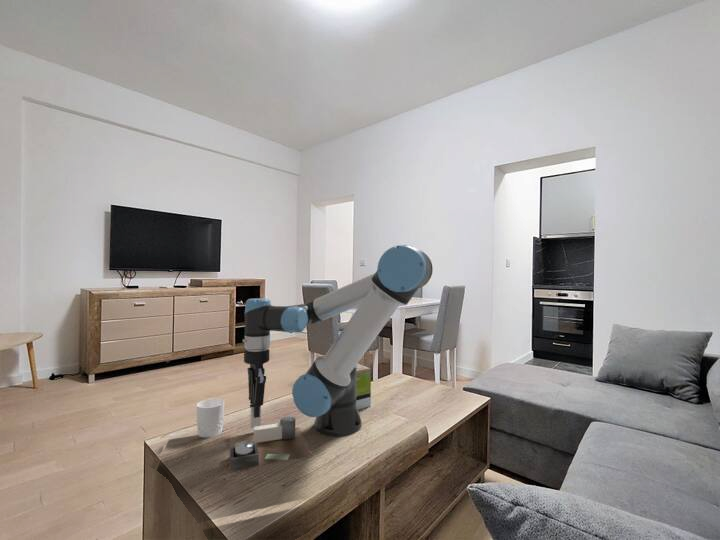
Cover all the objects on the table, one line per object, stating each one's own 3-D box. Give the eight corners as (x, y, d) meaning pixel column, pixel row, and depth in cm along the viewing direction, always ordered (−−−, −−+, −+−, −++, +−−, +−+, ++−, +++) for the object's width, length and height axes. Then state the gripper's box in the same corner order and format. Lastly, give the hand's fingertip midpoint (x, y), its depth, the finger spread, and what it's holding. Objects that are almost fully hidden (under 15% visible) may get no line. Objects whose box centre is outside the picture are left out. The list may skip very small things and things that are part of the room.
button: (252, 450, 90) (252, 439, 90) (253, 459, 86) (253, 447, 86) (234, 453, 88) (235, 442, 88) (235, 462, 84) (235, 450, 84)
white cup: (213, 443, 99) (214, 408, 99) (189, 440, 100) (190, 406, 100) (229, 431, 106) (229, 399, 107) (206, 429, 108) (207, 397, 108)
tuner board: (298, 430, 107) (299, 418, 107) (312, 460, 90) (312, 445, 90) (229, 441, 100) (229, 428, 100) (229, 475, 82) (229, 460, 82)
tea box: (328, 400, 134) (329, 362, 135) (349, 395, 140) (350, 359, 141) (349, 412, 122) (349, 371, 122) (371, 406, 128) (371, 367, 128)
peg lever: (293, 431, 103) (293, 415, 103) (296, 438, 99) (296, 421, 99) (253, 437, 98) (253, 421, 99) (254, 444, 94) (254, 427, 94)
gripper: (239, 346, 108) (238, 421, 107) (249, 354, 96) (247, 438, 96) (263, 344, 111) (261, 416, 111) (275, 351, 100) (273, 432, 100)
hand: (255, 426), depth 103 cm, fingers closed
